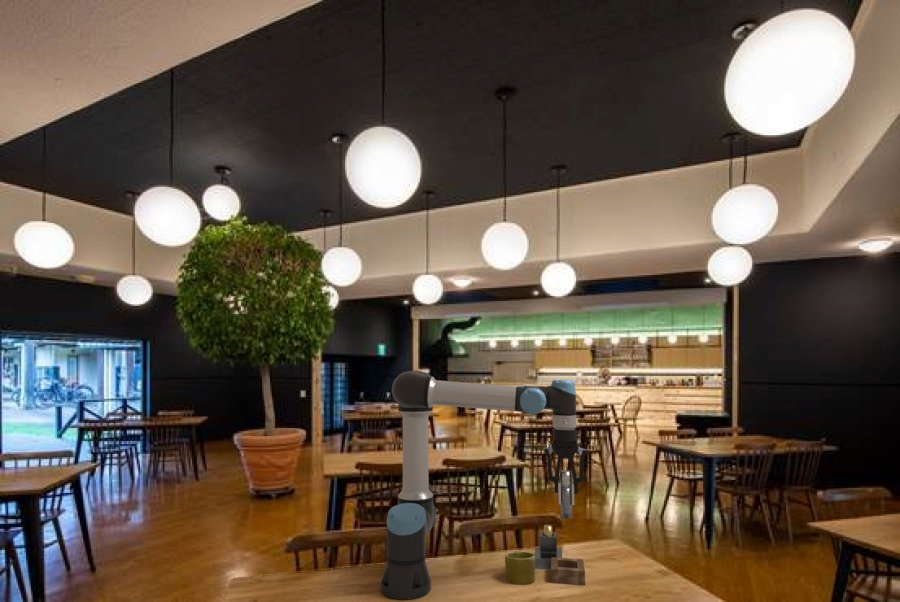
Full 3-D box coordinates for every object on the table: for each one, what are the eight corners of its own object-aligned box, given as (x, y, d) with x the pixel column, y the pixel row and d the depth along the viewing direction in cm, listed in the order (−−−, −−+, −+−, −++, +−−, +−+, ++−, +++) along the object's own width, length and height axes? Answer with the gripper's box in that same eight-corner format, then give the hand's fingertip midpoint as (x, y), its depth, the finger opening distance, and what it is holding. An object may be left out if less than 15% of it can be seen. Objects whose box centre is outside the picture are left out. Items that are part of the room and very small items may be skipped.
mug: (540, 585, 159) (530, 549, 163) (507, 593, 161) (498, 557, 164) (544, 577, 170) (534, 544, 174) (513, 585, 172) (504, 552, 175)
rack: (551, 586, 163) (551, 568, 163) (551, 573, 172) (551, 557, 173) (585, 588, 161) (584, 571, 161) (583, 575, 171) (583, 559, 171)
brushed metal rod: (561, 518, 167) (560, 472, 169) (561, 515, 171) (560, 470, 172) (572, 518, 167) (571, 472, 168) (572, 515, 170) (570, 470, 172)
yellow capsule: (544, 548, 182) (543, 527, 183) (544, 545, 185) (544, 524, 185) (552, 549, 181) (552, 527, 182) (552, 546, 184) (552, 525, 185)
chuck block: (534, 571, 174) (534, 542, 175) (535, 557, 186) (535, 530, 187) (562, 573, 172) (562, 544, 173) (562, 559, 184) (561, 532, 185)
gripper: (538, 429, 170) (539, 505, 167) (591, 430, 167) (594, 508, 164) (539, 426, 177) (540, 499, 174) (590, 427, 174) (592, 502, 171)
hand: (566, 503), depth 169 cm, fingers closed on brushed metal rod, 3 cm apart
